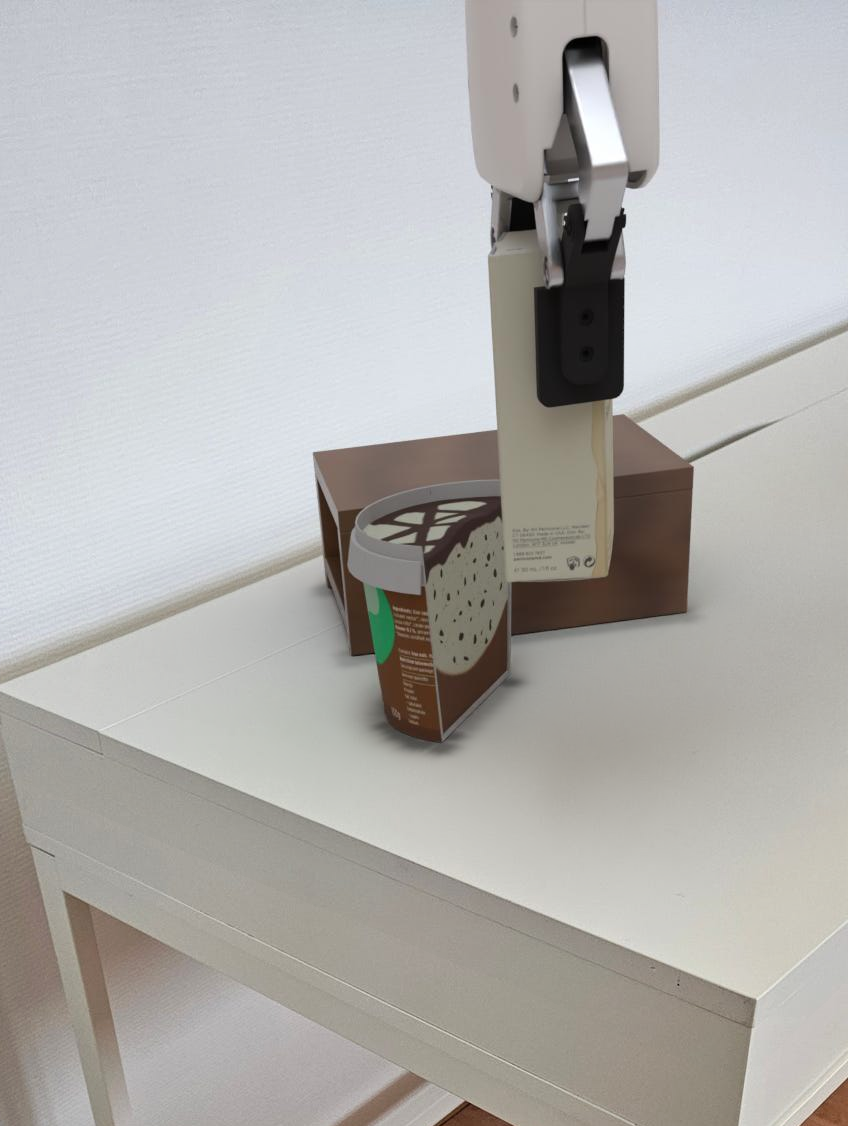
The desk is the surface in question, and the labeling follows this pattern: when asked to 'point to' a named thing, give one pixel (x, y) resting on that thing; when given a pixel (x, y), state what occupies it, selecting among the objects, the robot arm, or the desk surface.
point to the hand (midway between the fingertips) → (555, 376)
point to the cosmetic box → (544, 440)
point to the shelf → (370, 473)
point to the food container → (435, 601)
